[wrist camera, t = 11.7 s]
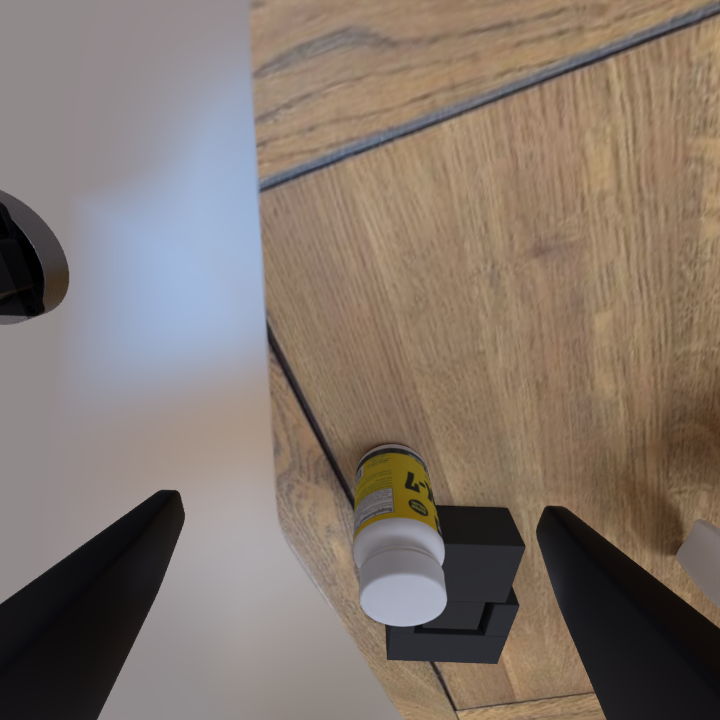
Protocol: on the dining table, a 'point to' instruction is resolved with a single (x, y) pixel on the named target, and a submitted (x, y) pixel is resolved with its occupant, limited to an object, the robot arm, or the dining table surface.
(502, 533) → the pad piece
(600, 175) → the dining table surface
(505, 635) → the base pad
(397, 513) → the supplement bottle
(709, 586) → the pear ornament
